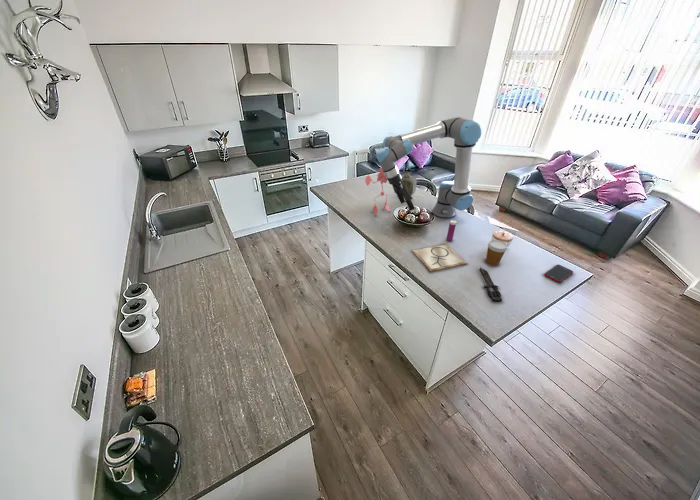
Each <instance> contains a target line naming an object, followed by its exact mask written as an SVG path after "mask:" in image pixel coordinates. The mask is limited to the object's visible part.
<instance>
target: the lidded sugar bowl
mask: <svg viewBox="0 0 700 500" xmlns="http://www.w3.org/2000/svg"><path fill="white" fill-rule="evenodd" d="M491 240H500V241H502V242H504V243H506V244H507V248H509V246H511V244H512V242H513V240H514V236H513V234H511V233H510V232H508V231H505V230H495V231H493V232H492V235H491Z"/></svg>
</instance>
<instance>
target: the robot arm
mask: <svg viewBox="0 0 700 500" xmlns="http://www.w3.org/2000/svg"><path fill="white" fill-rule="evenodd" d="M482 130H483V129H482V127H481V124H480V123H479V122H477V121H475V120H473V119H467V118H464V117H461V116H454V117H451V118H447V119H443V120H439V121H438V122H437V123H436V124H432V125H429V126H426V127H422V128H419V129H415V130H413V131H408V132H406V133H402V134H398V135H394V136H393V135H387V136H386V137H384V138H383V142H382V145H383V147H382V148H381V149H379V150H377V152H376V154H375V157H376V159H377V161H378V163H379V165H380V168H382V169H383V171H384V173H385V174H384V175H386V177H387V179H388V180H387V182H388V184H389V185H392V189H393V191H394V194H395V195H396V197H397V198H398V200H399V203H400V204H401V205H402V204H404V203H406V205H407V207H408V209H409V211H413V210H414V209H415V206H414V204H413V202H412V199H411V197H412V196H411V197H410V195H409V194H408V192H407V190H406V189H405V187H404V185H403V184H402V183H400V180H401V179H402V177H401V175H402V174H401V173H400V170H399V168H398V166H397V164H396V162H398V161H400V160H401V159H403V158H405V157H406V156H408V155H409V154H410V153H412V152H413V151H414V146H415V145H418V144H421V143H425V142H429V141H431V140H435V139H445V138H449V139H450V138H451V139H453V140H454V141H453V147H454V148H455V149H456V150H455V151H456V152H455V163H454V164H455V165H454V166H455V167H454V179H453V180H444V181H441V182H440V184H439V187H438V194H437V201H436V203H435V205H434V206H433V208H432V214H433V215H435V216H436V217H438V218H443V219H451V218H454V216H456V210H458V211H465V210H467V209H469V208H470V207H471V206H472V204H473V203H474V196H473V195H472V194H471V189H472V188H471V186H470V185H469V184H470V174H471V165H472V156H473V148H475V147H476V146H477V145H476V144H477V143H478V142H479V140H480V139H481V137H482ZM402 195H403V196H402ZM403 197H404V198H403Z"/></svg>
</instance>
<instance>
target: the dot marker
mask: <svg viewBox="0 0 700 500" xmlns="http://www.w3.org/2000/svg"><path fill="white" fill-rule="evenodd" d="M456 227H457V220H454V219H451V220H450V221H449V225H448V229H447V233H446V241H447V242H449V243H450V242H452V241H453V239H454V235H455V231H456Z"/></svg>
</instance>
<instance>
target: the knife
mask: <svg viewBox="0 0 700 500" xmlns="http://www.w3.org/2000/svg"><path fill="white" fill-rule="evenodd" d="M478 272H479V274H480V277H481V279H482V280H483V283H484V287H483V289H486V293H487V294H488V297H489V298H490V299H491V301H492V302H495V303H500V302H502V301H503V298H502V294H501V292H500V290H499V285H496V284H494V282H493V279H492V278H491V276H490V274H489V272H488V271H487V270H486V269H485V268H482V267H479V268H478ZM490 288H492V289H493V290H491V289H490Z"/></svg>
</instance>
